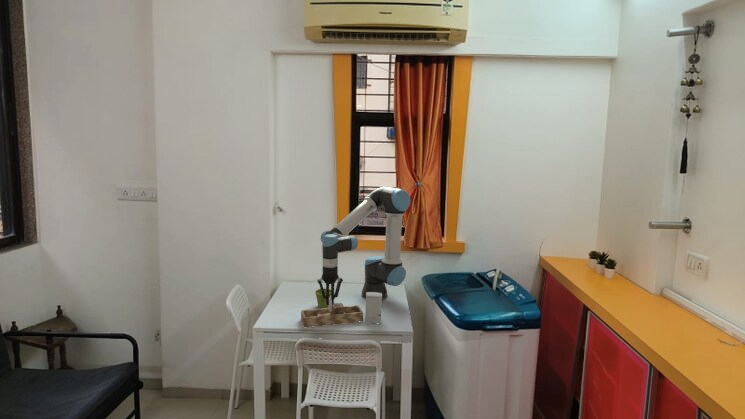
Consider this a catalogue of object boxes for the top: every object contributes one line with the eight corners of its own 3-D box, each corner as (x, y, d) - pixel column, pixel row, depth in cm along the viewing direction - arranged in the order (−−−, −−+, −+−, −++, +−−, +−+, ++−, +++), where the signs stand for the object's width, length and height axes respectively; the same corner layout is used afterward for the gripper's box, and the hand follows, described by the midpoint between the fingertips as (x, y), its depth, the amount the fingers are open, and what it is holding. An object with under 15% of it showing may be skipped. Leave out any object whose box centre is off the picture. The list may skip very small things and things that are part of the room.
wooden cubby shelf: (358, 314, 239) (358, 305, 238) (363, 321, 230) (363, 312, 229) (301, 319, 231) (301, 310, 230) (303, 327, 221) (303, 318, 221)
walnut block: (341, 312, 234) (341, 302, 233) (344, 316, 228) (344, 307, 227) (330, 313, 232) (330, 303, 231) (332, 317, 227) (332, 308, 226)
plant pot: (329, 310, 243) (329, 295, 242) (312, 308, 245) (312, 293, 244) (334, 304, 252) (334, 289, 251) (318, 302, 254) (317, 287, 253)
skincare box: (364, 324, 227) (365, 295, 224) (365, 319, 233) (365, 291, 230) (381, 324, 227) (382, 296, 224) (381, 319, 233) (382, 291, 230)
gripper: (318, 268, 220) (318, 314, 224) (344, 267, 223) (344, 312, 227) (315, 264, 227) (316, 309, 231) (341, 262, 230) (341, 306, 234)
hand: (329, 310), depth 229 cm, fingers closed
